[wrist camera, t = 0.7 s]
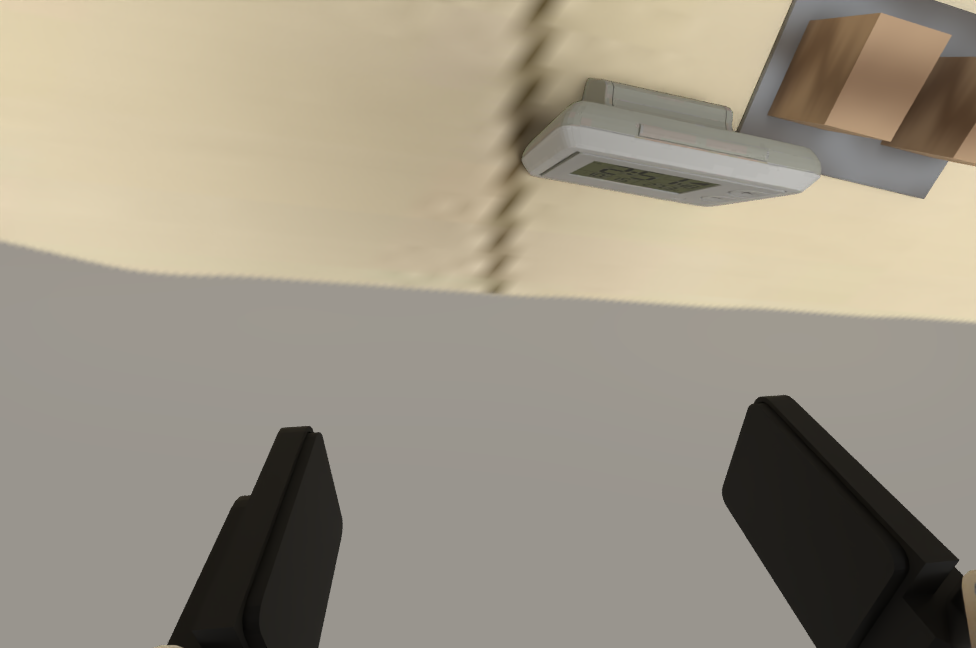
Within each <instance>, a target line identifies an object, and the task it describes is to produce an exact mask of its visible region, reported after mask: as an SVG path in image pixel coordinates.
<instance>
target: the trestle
mask: <svg viewBox="0 0 976 648" xmlns="http://www.w3.org/2000/svg"><path fill="white" fill-rule="evenodd" d="M737 132H738V133H743V134H748V135H753V136H757V137H762V138H767V139H772V140H776V141H781V142H785V143H790V144H794V145H799V146H803V147H806V148H809V149H811V150H812V151H813V152H814V154H815V155H816V156H817V158H818V160H819V161H820V164H821V175H826V176H830V177H834V178H838V179H842V180H847V181H851V182H855V183H859V184H863V185H868V186H872V187H876V188H880V189H884V190H888V191H893V192H897V193H901V194H905V195H909V196H914V197H918V198H922V199H924V198H925V197H926V195H927V194H928V192H929V190H930V189H931V187H932V186H933V184H934V183H935V181H936V180H937V178H938V176H939V175H940V173H941V172H942V170H943V169H944V167H945V165H946V164H947V162H948V161H951V162H956V163H961V164H967V165H972V166H976V14H974V13H971V12H968V11H965V10H962V9H959V8H956V7H953V6H950V5H947V4H944V3H941V2H938V1H935V0H793V2H792V4H791V7H790V9H789V11H788V14H787V16H786V18H785V21H784V23H783V25H782V28H781V30H780V32H779V35H778V37H777V39H776V41H775V44H774V46H773V48H772V51H771V53H770V55H769V58H768V60H767V62H766V65H765V67H764V69H763V72H762V74H761V76H760V79H759V81H758V83H757V86H756V88H755V90H754V93H753V95H752V97H751V100H750V102H749V104H748V107H747V109H746V111H745V114H744V116H743V118H742V121H741V123H740V125H739V128H738V130H737Z"/></svg>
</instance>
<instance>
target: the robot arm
mask: <svg viewBox="0 0 976 648" xmlns="http://www.w3.org/2000/svg"><path fill="white" fill-rule="evenodd" d="M722 496H723V500H724V502H725V504H726V506H727V508H728V509H729V511H730V512H731V514H732V516H733V517H734V519H735V520H736V522H737V523H738V525H739V527H740V528H741V530H742V531H743V533H744V534H745V536H746V538H747V539H748V541H749V542H750V544H751V545H752V547H753V548H754V550H755V552H756V553H757V555H758V556H759V558H760V560H761V561H762V563H763V564H764V566H765V567H766V569H767V571H768V572H769V574H770V575H771V577H772V578H773V580H774V582H775V583H776V585H777V586H778V588H779V589H780V591H781V592H782V594H783V596H784V597H785V599H786V600H787V602H788V604H789V605H790V607H791V608H792V610H793V611H794V613H795V615H796V616H797V618H798V619H799V621H800V622H801V624H802V625H803V627H804V629H805V630H806V632H807V633H808V635H809V637H810V638H811V640H812V641H813V643H814V644H815V646H816V648H976V570H971V571H969V572H967V573H966V574H965V575H964V576H963V575H962V574H961V573H960V572H959V571H958V570H957V569H956V568H955V565H956V564H957V563H958V561H959V559H958V558H957V557H956V556H955V555H954V554H953V553H951V551H950V550H948V549H947V548H946V547H945V546H944V545H943V544H942V543H941V542H940V541H939V540H938V539H937V538H936V537H935V536H934V535H933V534H932V533H931V532H930V531H929V530H928V529H927V528H926V527H925V526H924V525H923V524H922V523H921V522H920V521H918V520H917V519H916V518H915V517H914V516H913V515H912V514H911V513H910V512H909V511H908V510H907V509H906V508H905V507H904V506H903V505H902V504H901V503H900V502H899V501H898V500H897V499H896V498H895V497H894V496H893V495H892V494H891V493H890V492H889V491H887V489H885V488H884V487H883V486H882V485H881V484H880V483H879V482H878V481H877V480H876V479H875V478H874V477H873V476H872V475H871V474H870V473H869V472H868V471H867V470H866V469H865V468H864V467H863V466H862V465H861V464H860V463H859V462H858V461H857V460H856V459H854V458H853V457H852V456H851V455H850V454H849V453H848V452H847V451H846V450H845V449H844V448H843V447H842V446H841V445H840V444H839V443H838V442H837V441H836V440H835V439H834V438H833V437H832V436H831V435H830V434H829V433H828V432H827V431H826V430H825V429H824V428H822V427H821V426H820V425H819V424H818V423H817V422H816V421H815V420H814V419H813V418H812V417H811V416H810V415H809V414H808V413H807V412H806V411H805V410H804V409H803V408H802V407H801V406H800V405H799V404H798V403H797V402H796V401H795V400H793V399H792V398H791V397H790V396H786V395H780V396H765V397H758V398H757V399H756V400H755V402H754V404H751V405H750V406H749V408H748V410H747V413H746V416H745V419H744V422H743V426H742V428H741V432H740V435H739V438H738V441H737V444H736V447H735V450H734V453H733V456H732V460H731V463H730V466H729V469H728V472H727V475H726V478H725V481H724V484H723V488H722ZM342 524H343V523H342V516H341V512H340V507H339V503H338V499H337V495H336V491H335V486H334V482H333V478H332V474H331V470H330V465H329V461H328V457H327V453H326V449H325V445H324V440H323V437H322V434H321V433H319V432H317V433H314V432H313V429H312V428H311V427H310V426H302V427H287V428H281V429H280V431H279V432H278V434H277V437H276V439H275V441H274V443H273V446H272V448H271V450H270V453H269V455H268V458H267V460H266V462H265V464H264V466H263V469H262V471H261V473H260V476H259V478H258V480H257V482H256V485H255V487H254V489H253V491H252V494H251V495H248V496H241V497H239V498H238V499H237V500H236V501H235V503H234V505H233V506H232V508H231V510H230V512H229V514H228V516H227V518H226V521H225V523H224V525H223V527H222V529H221V531H220V534H219V535H218V538H217V540H216V542H215V544H214V546H213V548H212V551H211V552H210V555H209V557H208V559H207V561H206V563H205V565H204V567H203V570H202V572H201V574H200V576H199V578H198V580H197V582H196V584H195V587H194V589H193V591H192V593H191V595H190V597H189V599H188V602H187V604H186V606H185V608H184V610H183V612H182V614H181V616H180V619H179V621H178V623H177V625H176V627H175V629H174V632H173V634H172V636H171V638H170V640H169V642H168V644H167V645H160V646H157V647H154V648H318V646H319V642H320V637H321V632H322V627H323V622H324V618H325V612H326V608H327V603H328V598H329V593H330V589H331V584H332V579H333V575H334V570H335V565H336V560H337V556H338V551H339V546H340V542H341V537H342Z"/></svg>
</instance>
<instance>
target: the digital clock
mask: <svg viewBox="0 0 976 648" xmlns="http://www.w3.org/2000/svg"><path fill="white" fill-rule="evenodd" d="M732 118H733V112H732V110H731V109H730V108H728V107H726V106H722V105H717V104H712V103H708V102H703V101H698V100H694V99H689V98H685V97H680V96H676V95H671V94H667V93H662V92H657V91H653V90H648V89H644V88H639V87H635V86H630V85H625V84H621V83H616V82H612V81H608V80H603V79H595V78H588V80H587V82H586V85H585V89H584V93H583V97H582V101H578V102H575V103H573V104H571V105H570V106H569V107H567V108H566V109H565V110H564V111H563V112H562V113H560V114H559V115H558V116H557V117H556V118H555V119H554V120H553V121H552V122H551V123H550V124H549V125H548V126H547V127H546V128H545V129H544V130H543V131H542V132H541V133H540V134H539V135H538V136H536V137H535V138H534V139H533V140H532V141H531V142H530V144H529V145H528V146H527V147H526V149H525V151H524V153H523V156H522V162H523V164H524V166H525V168H526V169H527V171H528V173H529V174H530V175H532V176H536V177H541V178H546V179H551V180H557V181H562V182H568V183H573V184H579V185H584V186H590V187H596V188H601V189H607V190H612V191H618V192H623V193H629V194H635V195H640V196H646V197H651V198H657V199H662V200H668V201H674V202H679V203H685V204H691V205H697V206H705V207H709V206H719V205H726V204H733V203H739V202H746V201H753V200H759V199H766V198H773V197H779V196H786V195H792V194H797V193H801V192H803V191H804V190H805V189H807V188H808V187H809V186H810V185H812V184H813V183H814V182H815V181H816V180H818V179H819V178H820V175H821V164H820V161H819V160H818V158H817V156H816V155H815V154H814V152H813V151H812V150H811V149H809V148H806V147H803V146H799V145H794V144H790V143H785V142H781V141H776V140H772V139H767V138H762V137H757V136H753V135H748V134H743V133H738V132H734V131H733V129H732Z"/></svg>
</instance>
